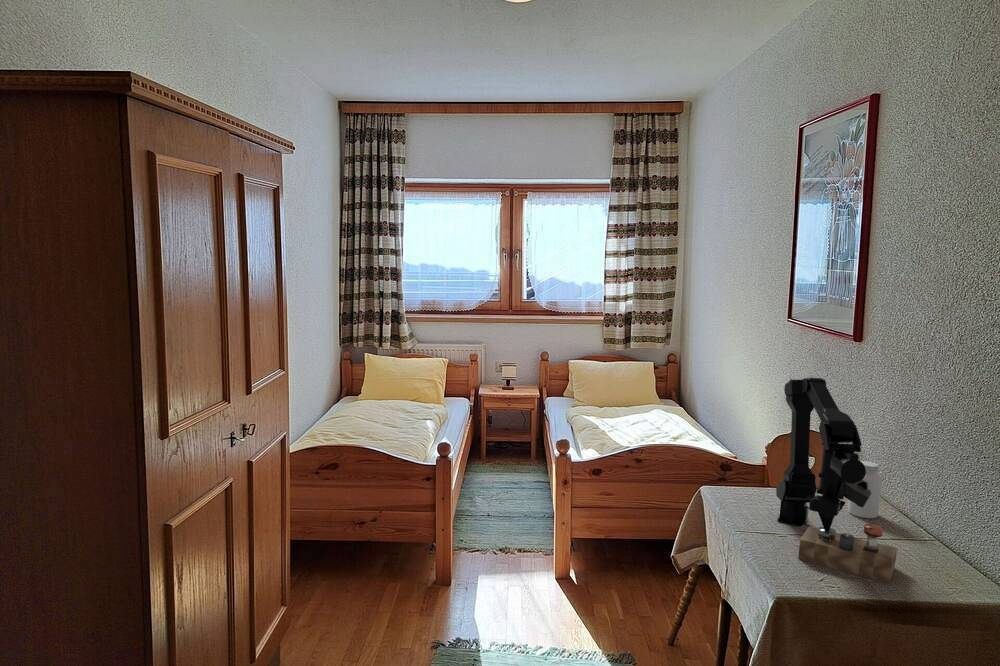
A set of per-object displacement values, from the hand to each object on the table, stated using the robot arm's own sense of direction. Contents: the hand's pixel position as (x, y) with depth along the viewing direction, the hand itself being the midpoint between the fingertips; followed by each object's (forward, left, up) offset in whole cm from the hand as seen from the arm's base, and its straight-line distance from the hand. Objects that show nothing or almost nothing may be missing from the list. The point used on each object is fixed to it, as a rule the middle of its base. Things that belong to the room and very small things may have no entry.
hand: (827, 530), depth 181 cm
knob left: (0, 0, -7) cm, 7 cm away
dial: (+5, -3, -2) cm, 6 cm away
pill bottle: (+3, +38, -7) cm, 39 cm away
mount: (+5, 0, -7) cm, 9 cm away
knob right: (+10, 0, -4) cm, 11 cm away
